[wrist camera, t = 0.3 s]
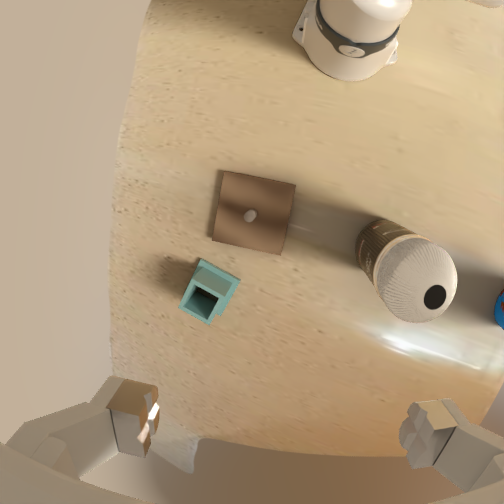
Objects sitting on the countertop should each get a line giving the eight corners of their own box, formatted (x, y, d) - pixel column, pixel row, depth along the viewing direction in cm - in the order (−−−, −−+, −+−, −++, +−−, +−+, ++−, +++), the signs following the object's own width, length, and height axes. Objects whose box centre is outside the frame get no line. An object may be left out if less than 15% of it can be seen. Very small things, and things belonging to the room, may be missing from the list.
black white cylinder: (356, 279, 55) (395, 351, 31) (348, 223, 53) (390, 262, 29) (409, 269, 54) (473, 330, 30) (403, 213, 52) (476, 244, 27)
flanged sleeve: (201, 258, 58) (189, 270, 51) (240, 279, 58) (233, 294, 51) (184, 293, 60) (170, 309, 53) (221, 314, 60) (212, 332, 53)
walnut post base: (226, 171, 54) (218, 171, 48) (295, 185, 53) (296, 186, 47) (214, 238, 57) (205, 246, 51) (281, 253, 56) (279, 262, 50)
